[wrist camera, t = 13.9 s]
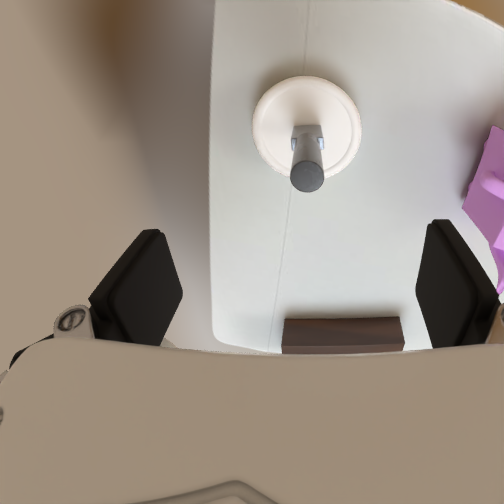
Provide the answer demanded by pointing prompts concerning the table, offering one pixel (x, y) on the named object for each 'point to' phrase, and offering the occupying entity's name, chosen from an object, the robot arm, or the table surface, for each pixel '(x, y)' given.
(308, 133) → the grey handled tool
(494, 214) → the teapot
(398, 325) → the utensil block
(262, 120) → the white round stack
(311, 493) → the robot arm
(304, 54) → the table surface
